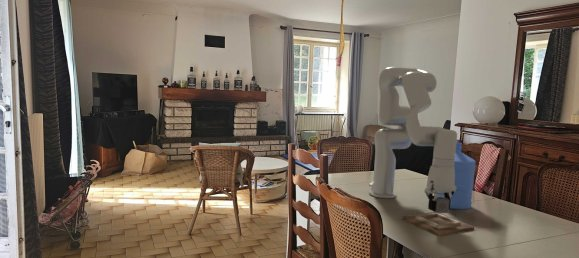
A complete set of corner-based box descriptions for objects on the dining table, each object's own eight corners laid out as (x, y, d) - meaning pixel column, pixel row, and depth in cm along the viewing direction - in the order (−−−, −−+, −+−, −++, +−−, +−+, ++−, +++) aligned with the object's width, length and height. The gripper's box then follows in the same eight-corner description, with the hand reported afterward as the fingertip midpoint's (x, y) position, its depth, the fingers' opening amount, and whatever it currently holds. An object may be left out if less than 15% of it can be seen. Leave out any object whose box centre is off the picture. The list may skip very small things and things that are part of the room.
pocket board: (402, 218, 149) (402, 213, 149) (435, 213, 157) (435, 209, 157) (439, 236, 133) (440, 230, 133) (474, 229, 142) (474, 224, 141)
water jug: (475, 212, 163) (482, 146, 159) (436, 207, 166) (442, 143, 162) (466, 201, 178) (472, 141, 175) (430, 197, 181) (436, 139, 178)
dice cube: (442, 208, 147) (443, 196, 147) (448, 213, 142) (449, 200, 142) (429, 208, 147) (430, 195, 146) (435, 212, 142) (436, 199, 141)
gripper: (451, 159, 150) (446, 204, 152) (418, 161, 142) (414, 208, 144) (467, 163, 143) (463, 209, 145) (434, 165, 135) (430, 214, 137)
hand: (438, 208), depth 145 cm, fingers closed on dice cube, 6 cm apart
